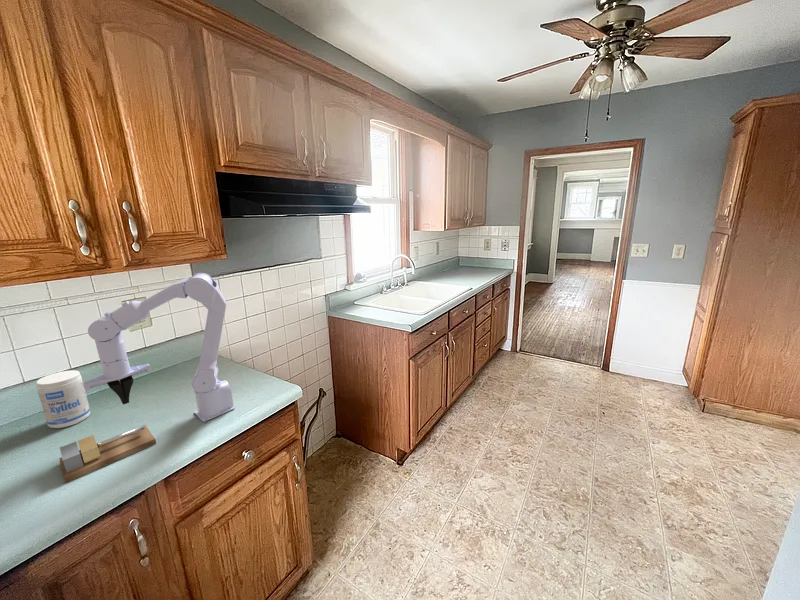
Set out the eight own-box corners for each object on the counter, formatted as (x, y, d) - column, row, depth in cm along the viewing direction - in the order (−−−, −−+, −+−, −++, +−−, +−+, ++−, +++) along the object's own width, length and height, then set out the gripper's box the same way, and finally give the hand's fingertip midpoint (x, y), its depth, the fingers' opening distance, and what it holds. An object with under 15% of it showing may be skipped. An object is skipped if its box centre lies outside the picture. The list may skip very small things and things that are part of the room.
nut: (95, 444, 88) (93, 435, 87) (100, 456, 83) (97, 446, 82) (80, 450, 85) (77, 440, 85) (84, 463, 81) (81, 453, 80)
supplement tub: (55, 433, 96) (40, 387, 92) (43, 424, 100) (28, 380, 97) (97, 415, 104) (85, 373, 100) (84, 408, 109) (72, 367, 105)
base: (146, 428, 97) (142, 414, 96) (156, 443, 91) (152, 427, 90) (60, 463, 84) (55, 446, 83) (65, 483, 78) (59, 465, 76)
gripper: (142, 347, 99) (151, 387, 103) (76, 364, 88) (89, 408, 92) (148, 353, 95) (158, 395, 98) (80, 371, 84) (94, 418, 87)
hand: (125, 402), depth 95 cm, fingers closed
